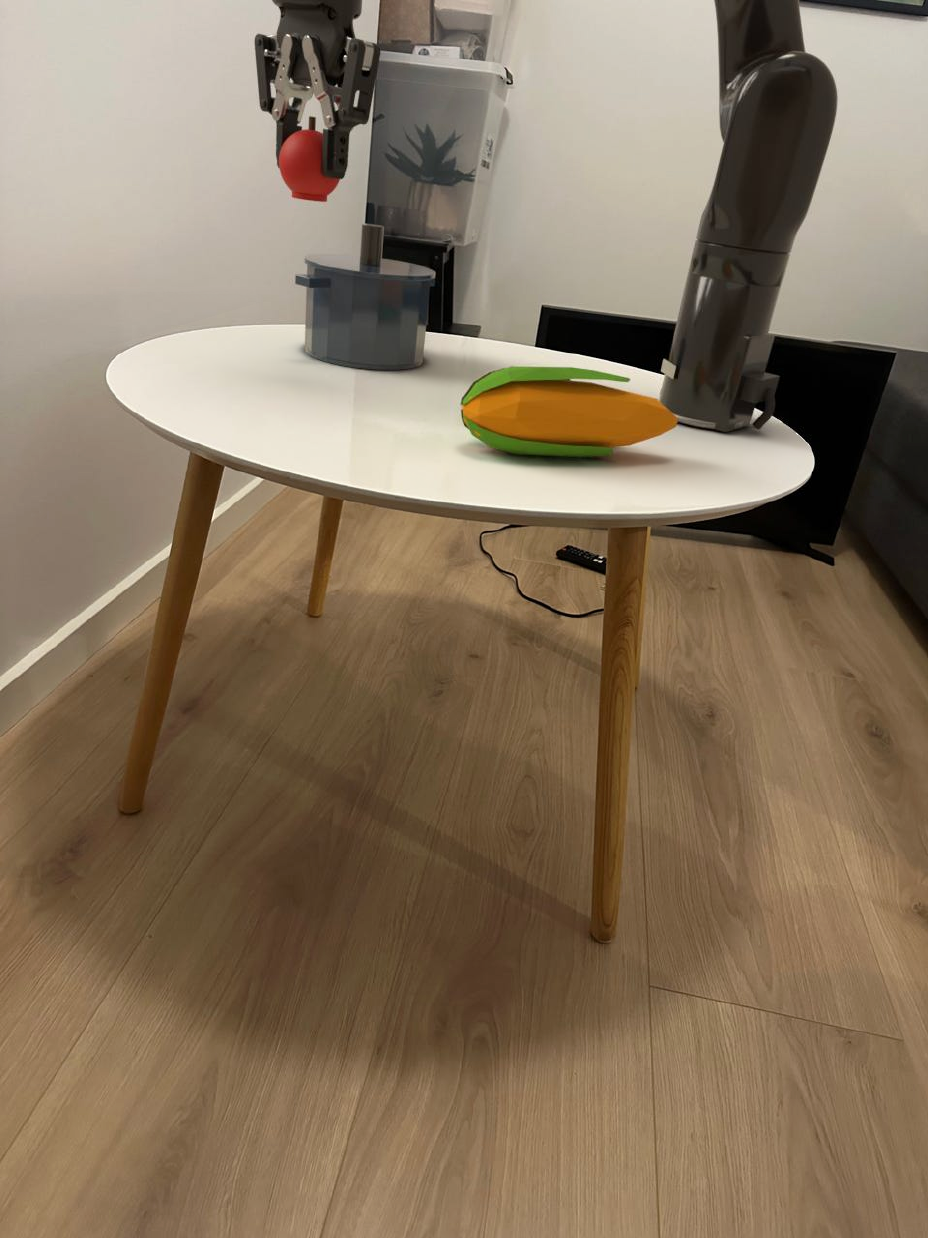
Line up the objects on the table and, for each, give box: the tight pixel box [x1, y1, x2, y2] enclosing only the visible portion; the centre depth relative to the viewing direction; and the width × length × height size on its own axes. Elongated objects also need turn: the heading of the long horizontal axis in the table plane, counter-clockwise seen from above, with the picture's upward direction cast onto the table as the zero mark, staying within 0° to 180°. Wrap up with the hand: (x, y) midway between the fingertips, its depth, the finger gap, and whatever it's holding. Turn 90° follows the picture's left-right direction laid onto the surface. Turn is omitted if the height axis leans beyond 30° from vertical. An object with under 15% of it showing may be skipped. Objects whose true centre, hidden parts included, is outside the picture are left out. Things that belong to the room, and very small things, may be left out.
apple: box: [278, 116, 341, 203], centre depth 77 cm, size 6×6×7 cm
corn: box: [459, 365, 679, 458], centre depth 73 cm, size 7×8×20 cm
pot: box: [294, 264, 436, 371], centre depth 98 cm, size 14×19×10 cm
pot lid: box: [303, 223, 436, 281], centre depth 95 cm, size 15×15×5 cm
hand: (310, 172), depth 77 cm, fingers closed on apple, 5 cm apart
